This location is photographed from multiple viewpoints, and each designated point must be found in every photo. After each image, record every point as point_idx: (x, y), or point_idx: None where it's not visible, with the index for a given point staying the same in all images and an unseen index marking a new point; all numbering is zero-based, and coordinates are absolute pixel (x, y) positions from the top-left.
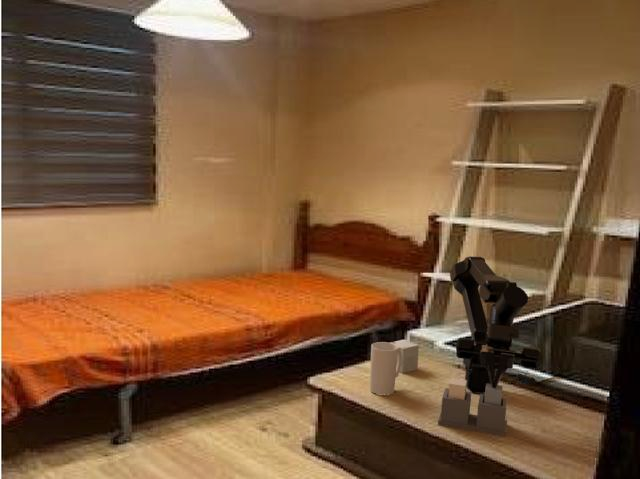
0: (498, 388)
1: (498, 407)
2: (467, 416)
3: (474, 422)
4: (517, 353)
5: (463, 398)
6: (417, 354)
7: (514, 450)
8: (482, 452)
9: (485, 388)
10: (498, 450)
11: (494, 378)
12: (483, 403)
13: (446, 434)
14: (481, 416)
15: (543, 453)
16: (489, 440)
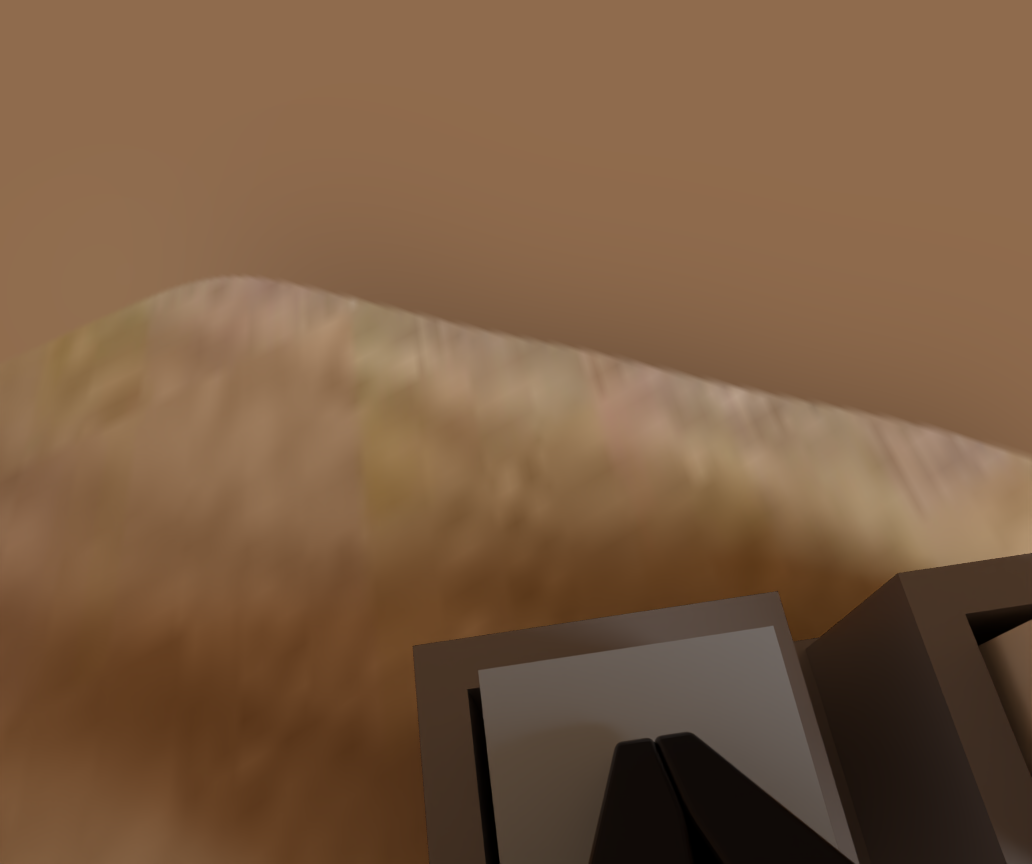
0: (568, 806)
1: (513, 634)
2: (839, 626)
3: None
4: None
5: (1016, 631)
6: None
7: (343, 489)
8: (557, 346)
9: (782, 659)
10: (457, 428)
11: (700, 817)
12: (720, 630)
13: (895, 468)
14: None
15: (121, 559)
16: (554, 550)
